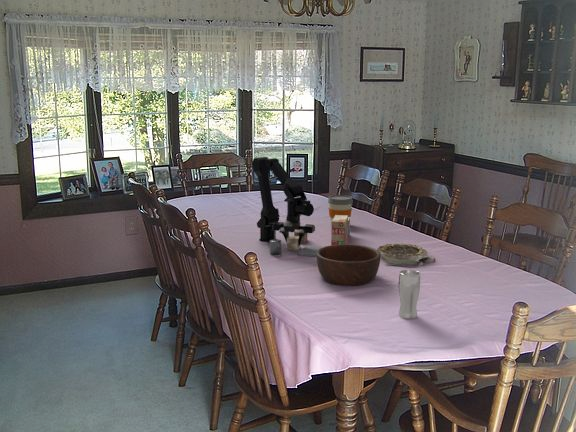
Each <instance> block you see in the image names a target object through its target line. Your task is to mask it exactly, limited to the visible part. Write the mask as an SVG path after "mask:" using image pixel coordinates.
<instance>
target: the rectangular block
mask: <svg viewBox="0 0 576 432" xmlns="http://www.w3.org/2000/svg"><path fill="white" fill-rule="evenodd" d="M299 232H300V230H295V232H293V234H294V235H293V236H299ZM306 242H308V233H306V234H305V235H304V237H303V239H302V242H301V244H305V243H306Z"/></svg>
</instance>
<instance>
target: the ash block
mask: <svg viewBox="0 0 576 432" xmlns="http://www.w3.org/2000/svg"><path fill="white" fill-rule="evenodd" d="M298 242H299V236H294V235H289V237H288V238H287V243H286V250H293V251H298V250H299V249H300V248H301V245H300V246H299V245H298Z"/></svg>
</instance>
